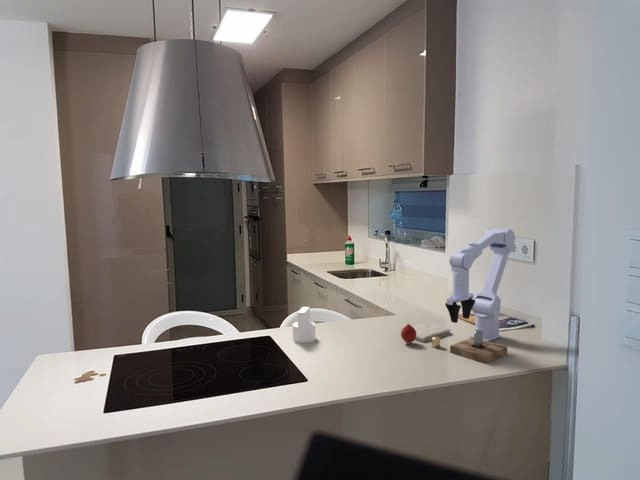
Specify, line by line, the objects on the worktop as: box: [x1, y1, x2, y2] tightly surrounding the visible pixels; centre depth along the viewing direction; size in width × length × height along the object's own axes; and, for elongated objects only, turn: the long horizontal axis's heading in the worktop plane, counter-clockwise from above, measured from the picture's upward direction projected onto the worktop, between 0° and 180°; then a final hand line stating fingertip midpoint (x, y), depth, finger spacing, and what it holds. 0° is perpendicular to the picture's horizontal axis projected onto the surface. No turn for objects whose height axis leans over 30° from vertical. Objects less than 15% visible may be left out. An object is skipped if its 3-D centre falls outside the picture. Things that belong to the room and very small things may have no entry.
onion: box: [400, 322, 416, 345], centre depth 171 cm, size 6×6×8 cm
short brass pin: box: [431, 337, 441, 349], centre depth 168 cm, size 3×3×4 cm
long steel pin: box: [473, 329, 483, 349], centre depth 160 cm, size 3×3×8 cm
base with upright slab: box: [292, 306, 316, 344], centre depth 179 cm, size 9×9×12 cm
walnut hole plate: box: [449, 337, 508, 364], centre depth 160 cm, size 14×14×2 cm
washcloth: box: [412, 322, 451, 343], centre depth 182 cm, size 12×18×3 cm, turn 127°
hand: (460, 320), depth 167 cm, fingers open, 7 cm apart
